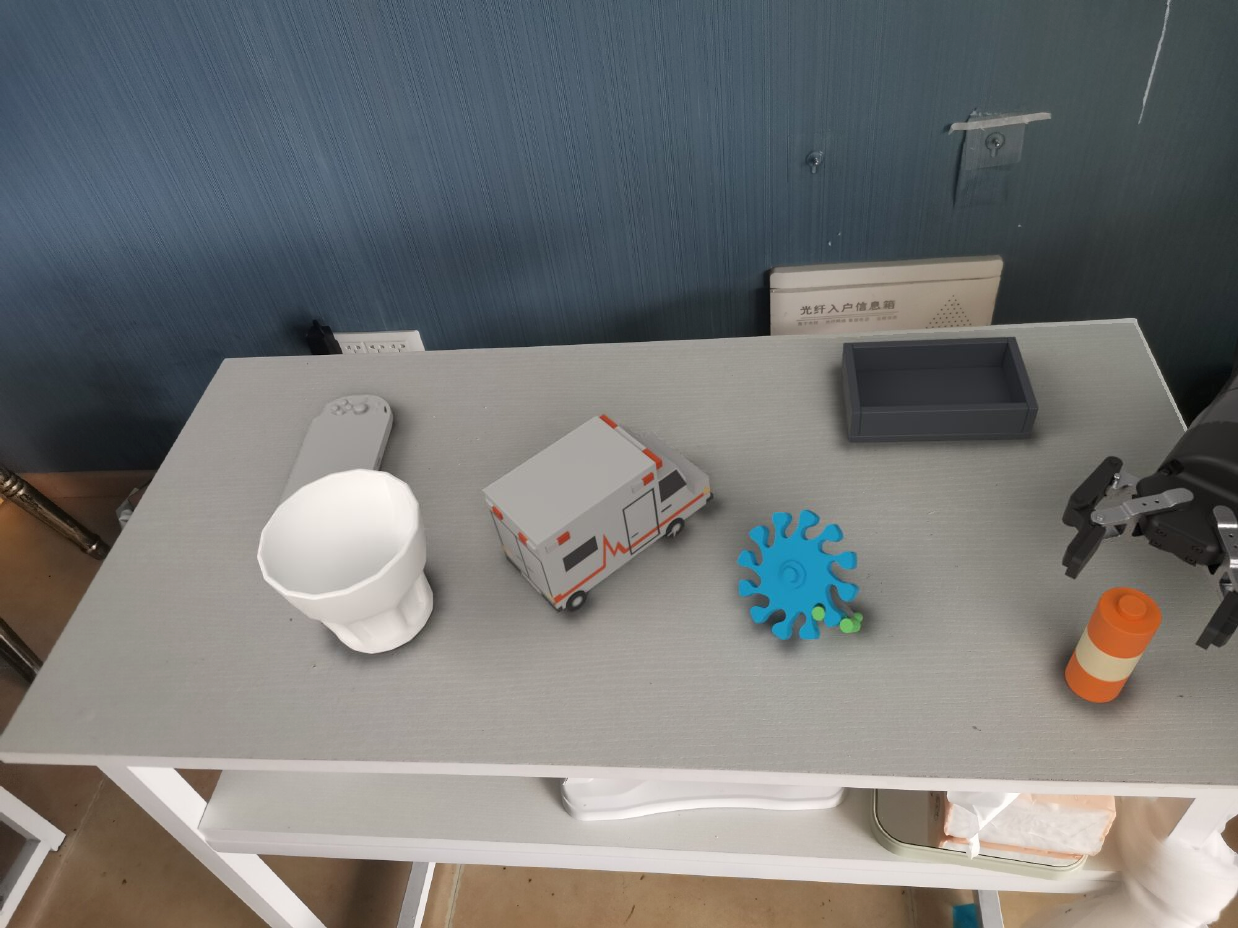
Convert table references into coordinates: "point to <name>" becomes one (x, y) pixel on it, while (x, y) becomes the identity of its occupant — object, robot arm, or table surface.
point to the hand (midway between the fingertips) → (1136, 604)
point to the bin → (937, 390)
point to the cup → (352, 558)
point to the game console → (342, 440)
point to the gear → (800, 578)
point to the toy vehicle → (591, 506)
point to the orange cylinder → (1112, 644)
